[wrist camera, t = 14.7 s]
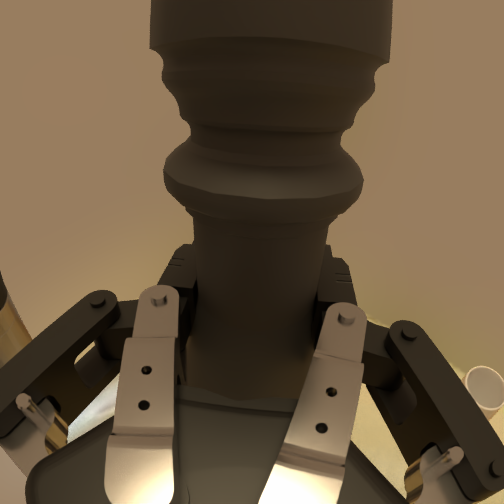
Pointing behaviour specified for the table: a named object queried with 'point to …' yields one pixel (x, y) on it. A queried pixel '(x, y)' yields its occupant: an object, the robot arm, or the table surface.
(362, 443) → the table surface
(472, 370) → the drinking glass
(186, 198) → the candle holder
